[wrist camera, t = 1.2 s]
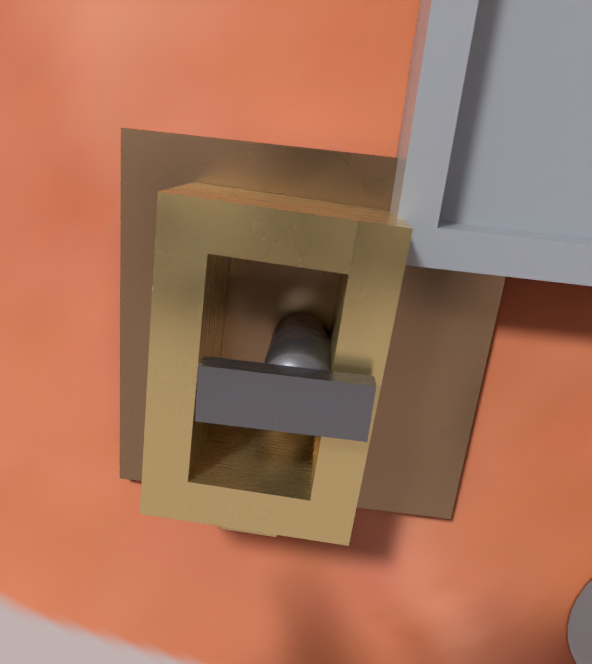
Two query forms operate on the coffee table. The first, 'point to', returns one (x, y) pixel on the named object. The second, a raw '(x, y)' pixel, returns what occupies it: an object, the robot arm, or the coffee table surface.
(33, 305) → the coffee table surface
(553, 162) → the tray
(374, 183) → the brown peg base plate
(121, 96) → the coffee table surface
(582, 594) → the wine glass
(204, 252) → the gold hollow rectangular block
